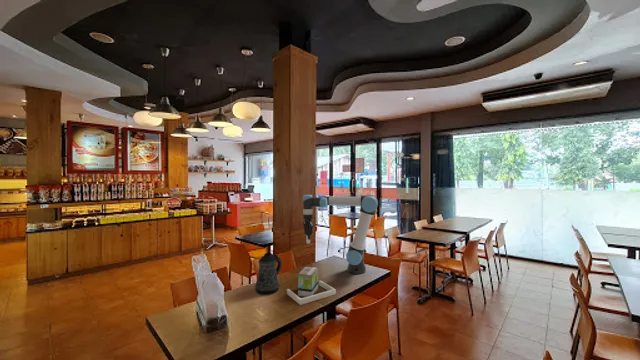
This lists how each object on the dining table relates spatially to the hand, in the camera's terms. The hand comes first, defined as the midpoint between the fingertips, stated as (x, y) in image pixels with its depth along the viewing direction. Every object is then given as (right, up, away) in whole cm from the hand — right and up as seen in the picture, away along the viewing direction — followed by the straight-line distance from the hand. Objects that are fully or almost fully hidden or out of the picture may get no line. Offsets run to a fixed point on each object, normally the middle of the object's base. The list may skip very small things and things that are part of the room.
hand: (308, 243), depth 217 cm
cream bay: (+4, -25, -37) cm, 45 cm away
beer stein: (-27, -25, -29) cm, 47 cm away
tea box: (+2, -25, -34) cm, 42 cm away
